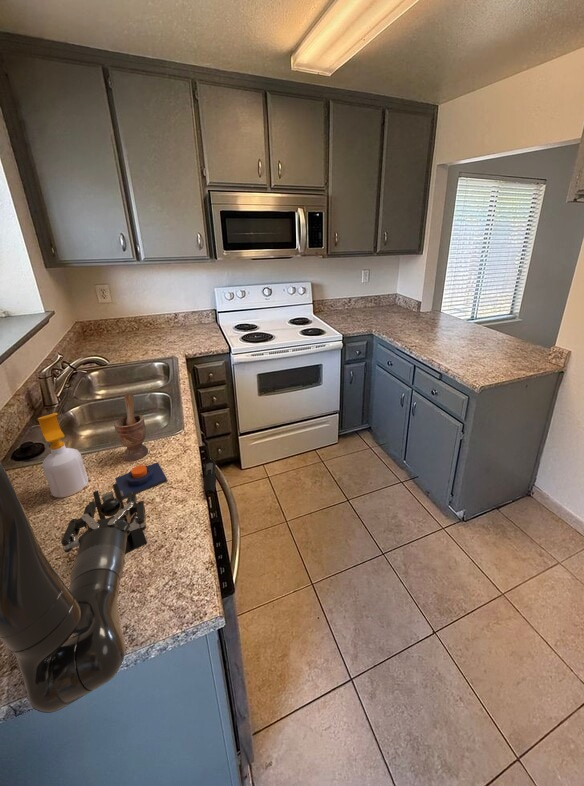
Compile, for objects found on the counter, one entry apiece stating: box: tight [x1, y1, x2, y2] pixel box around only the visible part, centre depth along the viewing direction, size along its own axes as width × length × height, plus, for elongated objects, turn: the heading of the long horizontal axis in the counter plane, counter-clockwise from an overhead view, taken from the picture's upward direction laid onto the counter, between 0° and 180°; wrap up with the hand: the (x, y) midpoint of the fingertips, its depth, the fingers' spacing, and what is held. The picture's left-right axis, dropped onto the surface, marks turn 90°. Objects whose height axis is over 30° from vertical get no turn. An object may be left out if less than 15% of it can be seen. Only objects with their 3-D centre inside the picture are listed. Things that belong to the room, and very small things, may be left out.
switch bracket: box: [92, 482, 148, 555], centre depth 84 cm, size 12×10×15 cm
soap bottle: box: [37, 412, 89, 498], centre depth 101 cm, size 9×9×25 cm
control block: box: [114, 462, 168, 501], centre depth 105 cm, size 12×10×4 cm
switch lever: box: [100, 490, 121, 518], centre depth 78 cm, size 13×4×4 cm, turn 37°
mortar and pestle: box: [113, 392, 149, 462], centre depth 118 cm, size 12×9×20 cm
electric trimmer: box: [203, 458, 217, 495], centre depth 107 cm, size 4×16×3 cm, turn 16°
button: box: [130, 464, 147, 479], centre depth 105 cm, size 4×4×2 cm
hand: (112, 499), depth 76 cm, fingers open, 6 cm apart
